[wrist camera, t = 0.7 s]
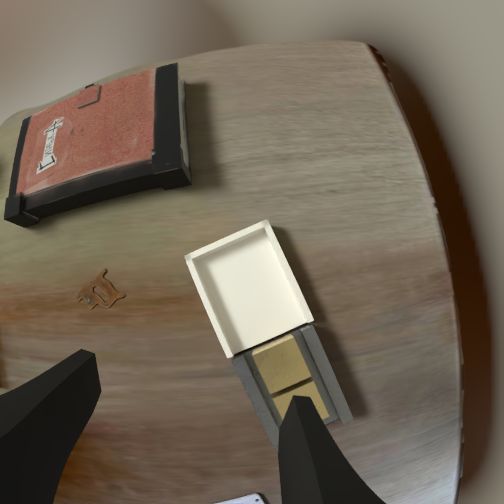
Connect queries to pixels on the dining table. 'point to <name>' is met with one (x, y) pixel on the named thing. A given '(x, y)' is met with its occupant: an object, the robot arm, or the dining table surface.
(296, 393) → the brass chip
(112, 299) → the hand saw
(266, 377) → the brass chip
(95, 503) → the dining table surface
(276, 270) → the tray
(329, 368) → the rail
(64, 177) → the book
